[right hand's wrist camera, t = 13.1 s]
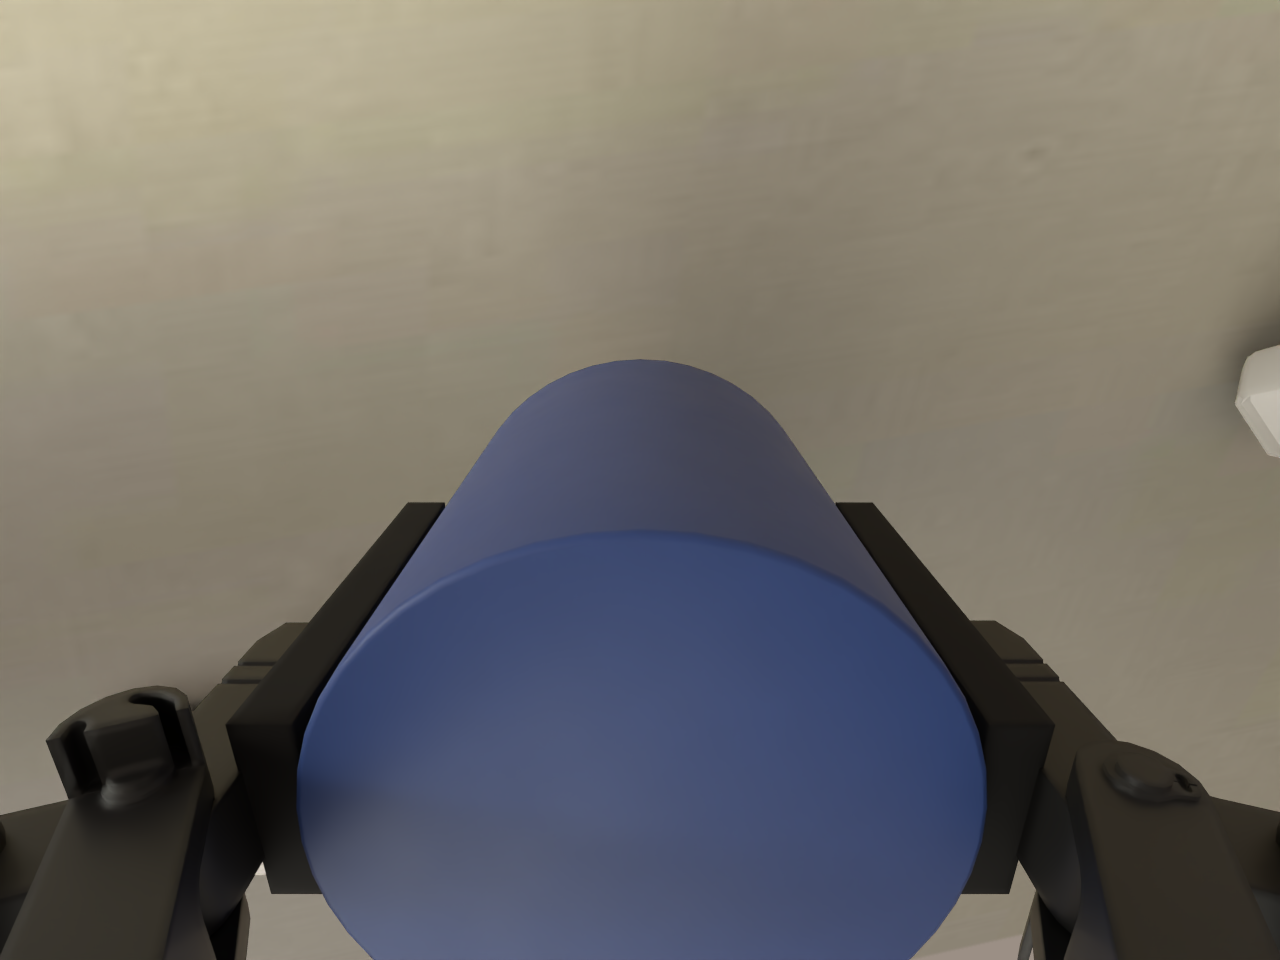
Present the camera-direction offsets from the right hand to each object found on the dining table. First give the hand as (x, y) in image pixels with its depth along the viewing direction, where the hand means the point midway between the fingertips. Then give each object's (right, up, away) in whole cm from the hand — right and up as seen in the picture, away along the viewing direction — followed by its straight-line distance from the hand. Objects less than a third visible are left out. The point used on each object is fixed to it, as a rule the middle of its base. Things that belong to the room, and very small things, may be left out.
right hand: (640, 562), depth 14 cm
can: (0, +1, +2) cm, 2 cm away
